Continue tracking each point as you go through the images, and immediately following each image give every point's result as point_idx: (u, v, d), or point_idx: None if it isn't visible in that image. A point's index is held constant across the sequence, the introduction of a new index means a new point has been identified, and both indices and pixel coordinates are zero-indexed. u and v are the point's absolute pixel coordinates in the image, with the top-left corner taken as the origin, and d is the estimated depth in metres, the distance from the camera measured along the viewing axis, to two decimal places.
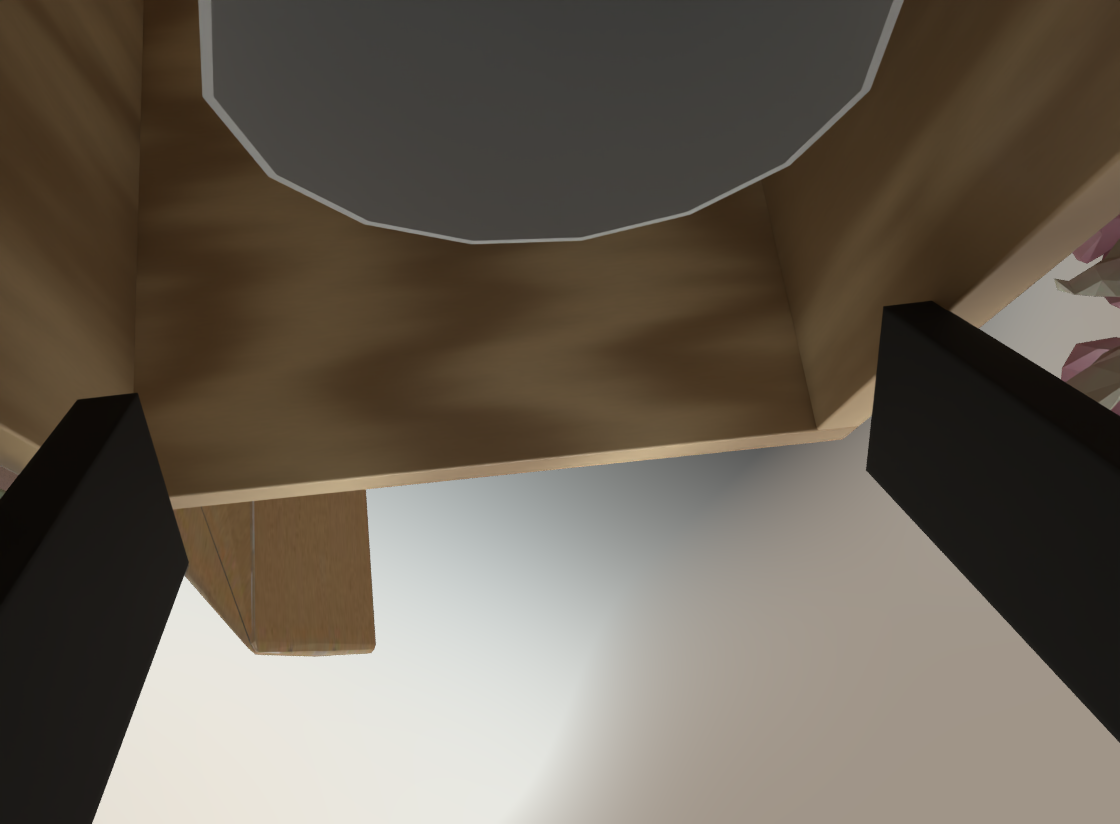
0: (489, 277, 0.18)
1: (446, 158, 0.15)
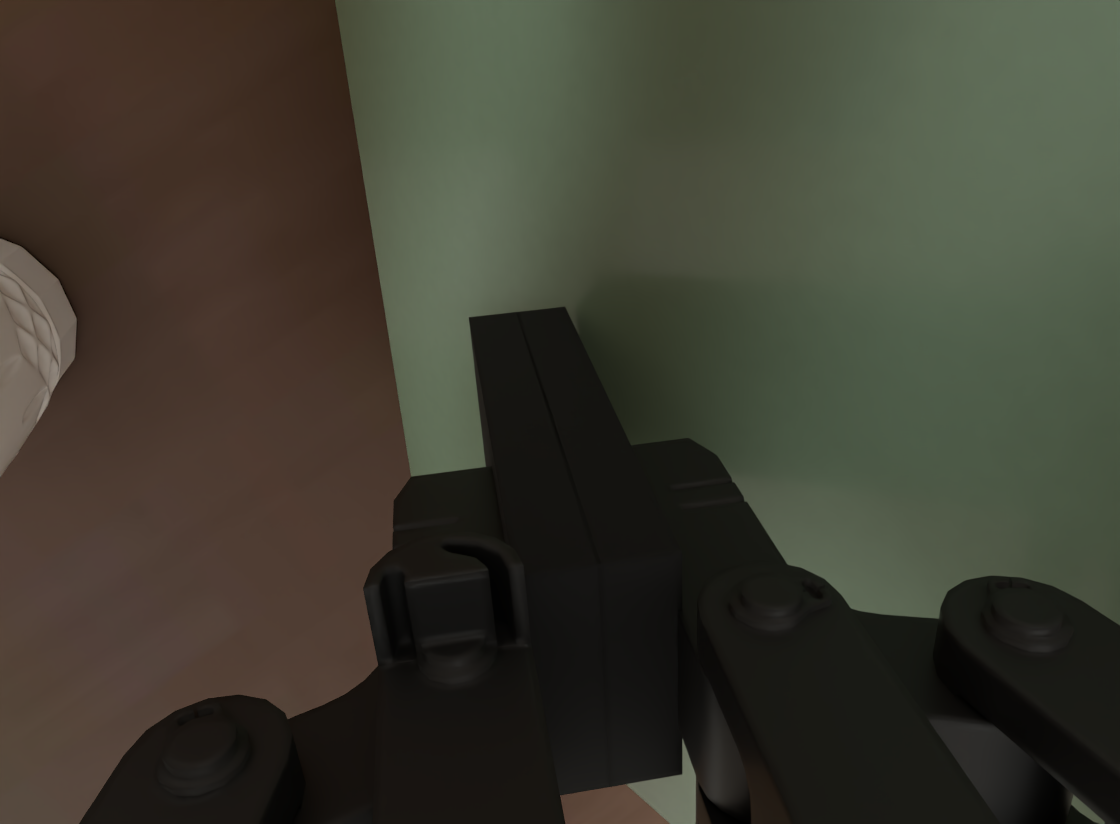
0: None
1: None
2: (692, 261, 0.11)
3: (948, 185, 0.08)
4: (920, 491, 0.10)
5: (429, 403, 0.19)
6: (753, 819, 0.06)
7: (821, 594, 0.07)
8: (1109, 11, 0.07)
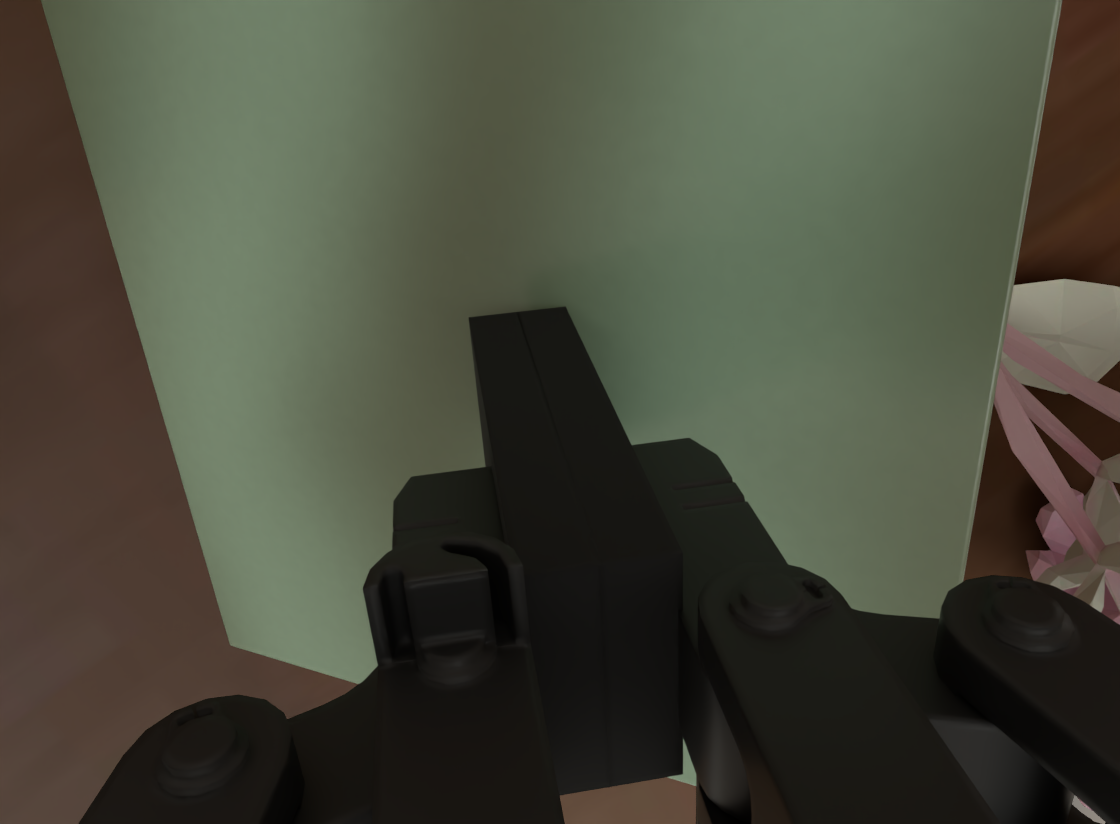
0: None
1: None
2: (512, 224, 0.14)
3: (726, 131, 0.12)
4: (731, 365, 0.13)
5: (212, 421, 0.18)
6: (754, 819, 0.06)
7: (821, 593, 0.07)
8: (824, 0, 0.11)
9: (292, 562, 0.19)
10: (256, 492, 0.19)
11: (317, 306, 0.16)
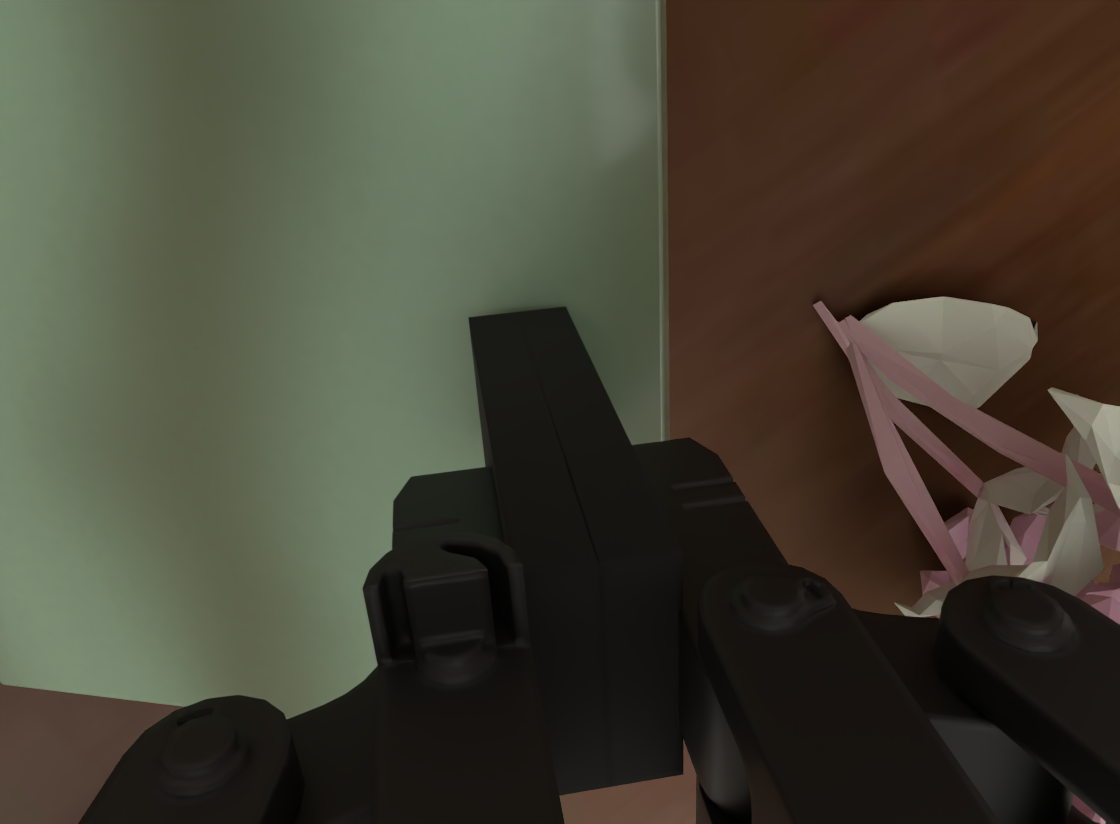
0: None
1: None
2: (232, 229, 0.14)
3: (412, 135, 0.13)
4: (448, 344, 0.15)
5: None
6: (754, 819, 0.06)
7: (822, 593, 0.07)
8: (475, 19, 0.12)
9: (58, 586, 0.19)
10: (10, 519, 0.19)
11: (50, 324, 0.16)
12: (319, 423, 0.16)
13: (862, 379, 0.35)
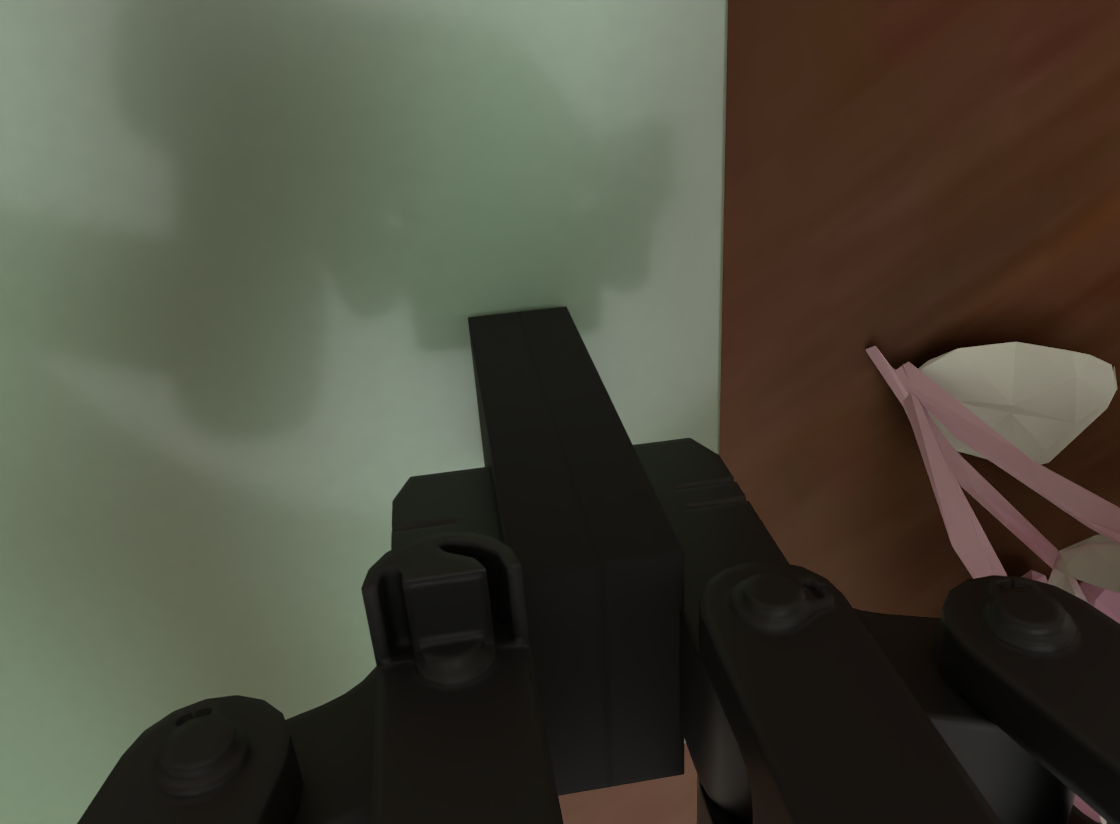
0: None
1: None
2: (257, 258, 0.13)
3: (474, 139, 0.13)
4: None
5: None
6: (755, 819, 0.06)
7: (822, 593, 0.07)
8: (547, 17, 0.12)
9: None
10: None
11: (2, 397, 0.13)
12: (356, 460, 0.14)
13: (923, 436, 0.31)
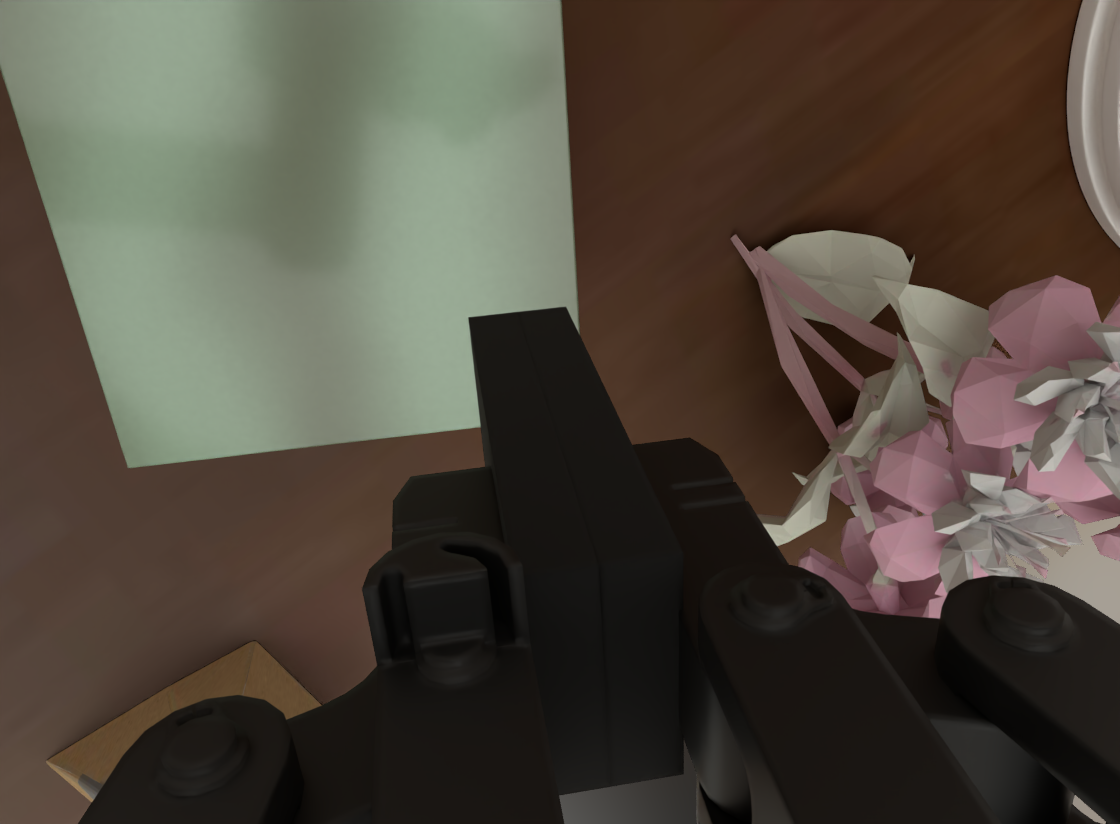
0: None
1: None
2: (334, 112, 0.26)
3: (440, 53, 0.26)
4: (457, 168, 0.28)
5: (119, 284, 0.28)
6: (754, 819, 0.06)
7: (822, 594, 0.07)
8: None
9: (187, 375, 0.29)
10: (156, 328, 0.28)
11: (207, 183, 0.27)
12: (381, 226, 0.28)
13: (766, 295, 0.44)
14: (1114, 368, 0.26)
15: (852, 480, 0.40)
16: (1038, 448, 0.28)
